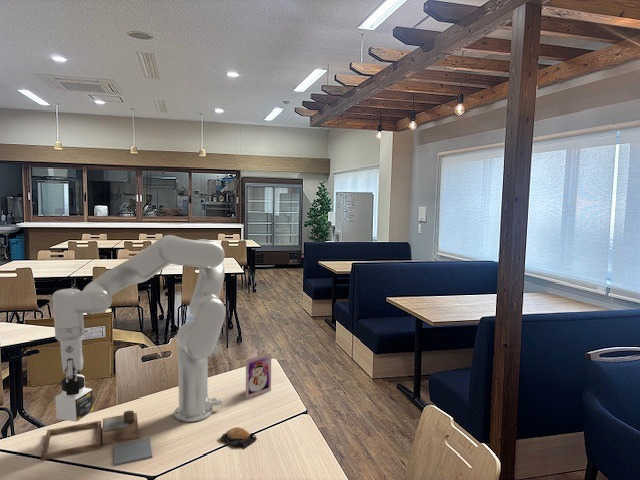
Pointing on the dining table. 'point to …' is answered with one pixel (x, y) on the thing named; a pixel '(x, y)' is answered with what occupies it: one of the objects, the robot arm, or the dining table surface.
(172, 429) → the dining table surface
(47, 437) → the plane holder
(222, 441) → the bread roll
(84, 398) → the medicine bottle
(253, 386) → the greeting card
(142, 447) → the slate mat
